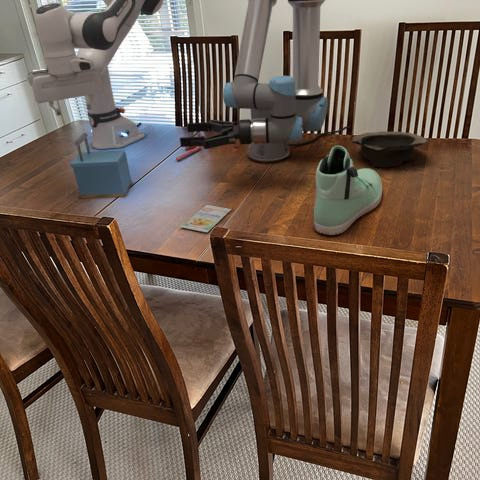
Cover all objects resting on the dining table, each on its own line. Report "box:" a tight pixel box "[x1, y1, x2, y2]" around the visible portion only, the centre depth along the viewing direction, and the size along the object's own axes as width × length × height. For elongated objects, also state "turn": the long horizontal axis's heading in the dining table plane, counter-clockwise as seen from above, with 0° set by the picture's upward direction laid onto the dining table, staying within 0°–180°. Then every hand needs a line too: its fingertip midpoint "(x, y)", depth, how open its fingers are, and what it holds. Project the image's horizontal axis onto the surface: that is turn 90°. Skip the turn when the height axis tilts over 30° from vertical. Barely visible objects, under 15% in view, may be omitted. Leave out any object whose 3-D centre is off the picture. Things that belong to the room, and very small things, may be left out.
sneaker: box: [313, 145, 383, 236], centre depth 133 cm, size 14×35×20 cm, turn 152°
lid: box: [69, 132, 127, 168], centre depth 154 cm, size 15×10×8 cm, turn 87°
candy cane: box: [175, 146, 201, 162], centre depth 185 cm, size 6×15×2 cm, turn 145°
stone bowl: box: [351, 131, 429, 168], centre depth 166 cm, size 25×25×9 cm
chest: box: [72, 154, 133, 199], centre depth 159 cm, size 15×10×11 cm
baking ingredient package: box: [180, 204, 232, 233], centre depth 139 cm, size 9×1×15 cm
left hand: (74, 112), depth 148 cm, fingers open, 8 cm apart
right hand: (184, 134), depth 150 cm, fingers open, 13 cm apart
